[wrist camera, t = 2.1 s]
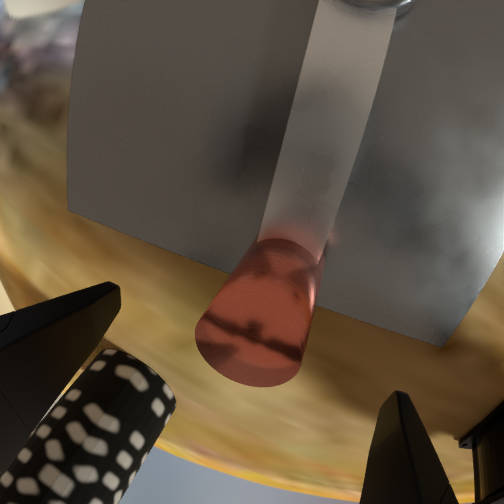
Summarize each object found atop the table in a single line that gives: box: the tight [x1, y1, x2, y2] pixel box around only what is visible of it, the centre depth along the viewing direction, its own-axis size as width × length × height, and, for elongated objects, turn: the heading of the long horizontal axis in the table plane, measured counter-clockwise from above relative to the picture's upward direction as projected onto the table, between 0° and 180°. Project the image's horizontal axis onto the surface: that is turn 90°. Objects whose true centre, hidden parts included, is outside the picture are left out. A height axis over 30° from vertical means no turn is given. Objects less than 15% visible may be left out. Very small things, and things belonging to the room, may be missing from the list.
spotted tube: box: [0, 349, 176, 504], centre depth 17 cm, size 8×8×20 cm
